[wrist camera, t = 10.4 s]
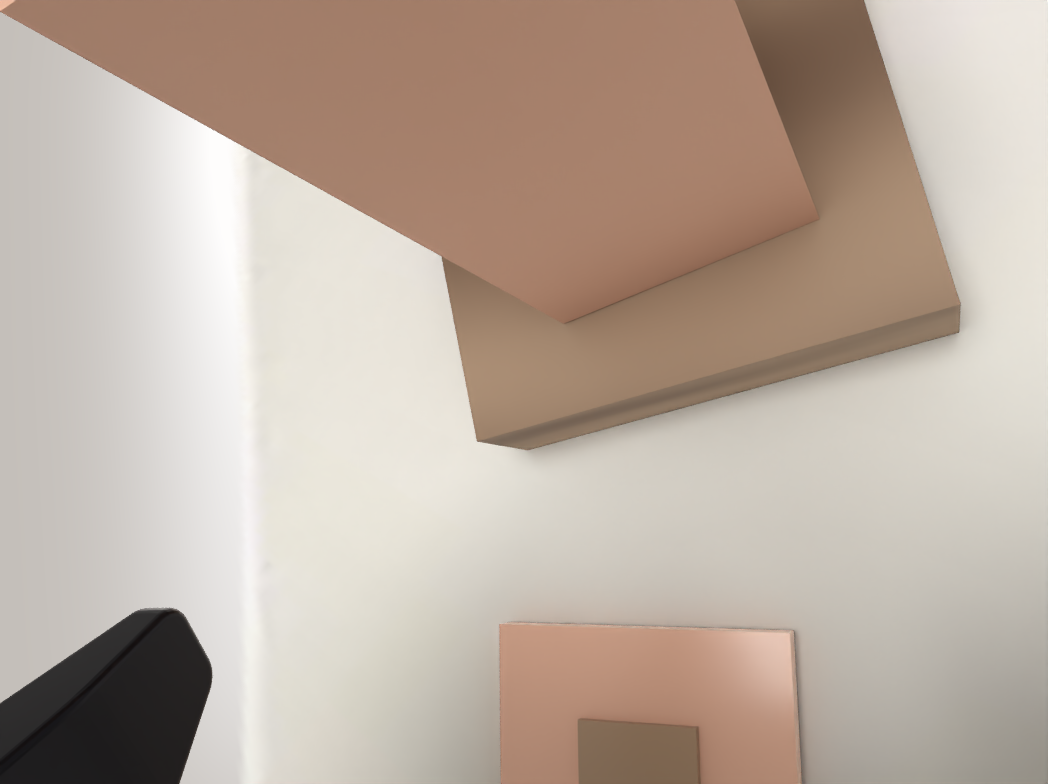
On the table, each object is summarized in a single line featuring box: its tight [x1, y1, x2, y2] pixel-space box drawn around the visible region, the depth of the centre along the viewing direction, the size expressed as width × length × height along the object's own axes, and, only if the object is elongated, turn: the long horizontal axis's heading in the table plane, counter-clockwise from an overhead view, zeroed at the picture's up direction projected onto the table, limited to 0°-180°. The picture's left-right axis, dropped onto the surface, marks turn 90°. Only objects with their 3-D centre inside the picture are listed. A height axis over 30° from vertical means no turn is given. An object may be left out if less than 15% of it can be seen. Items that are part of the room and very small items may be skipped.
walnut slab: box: [442, 0, 960, 450], centre depth 19 cm, size 9×9×3 cm
